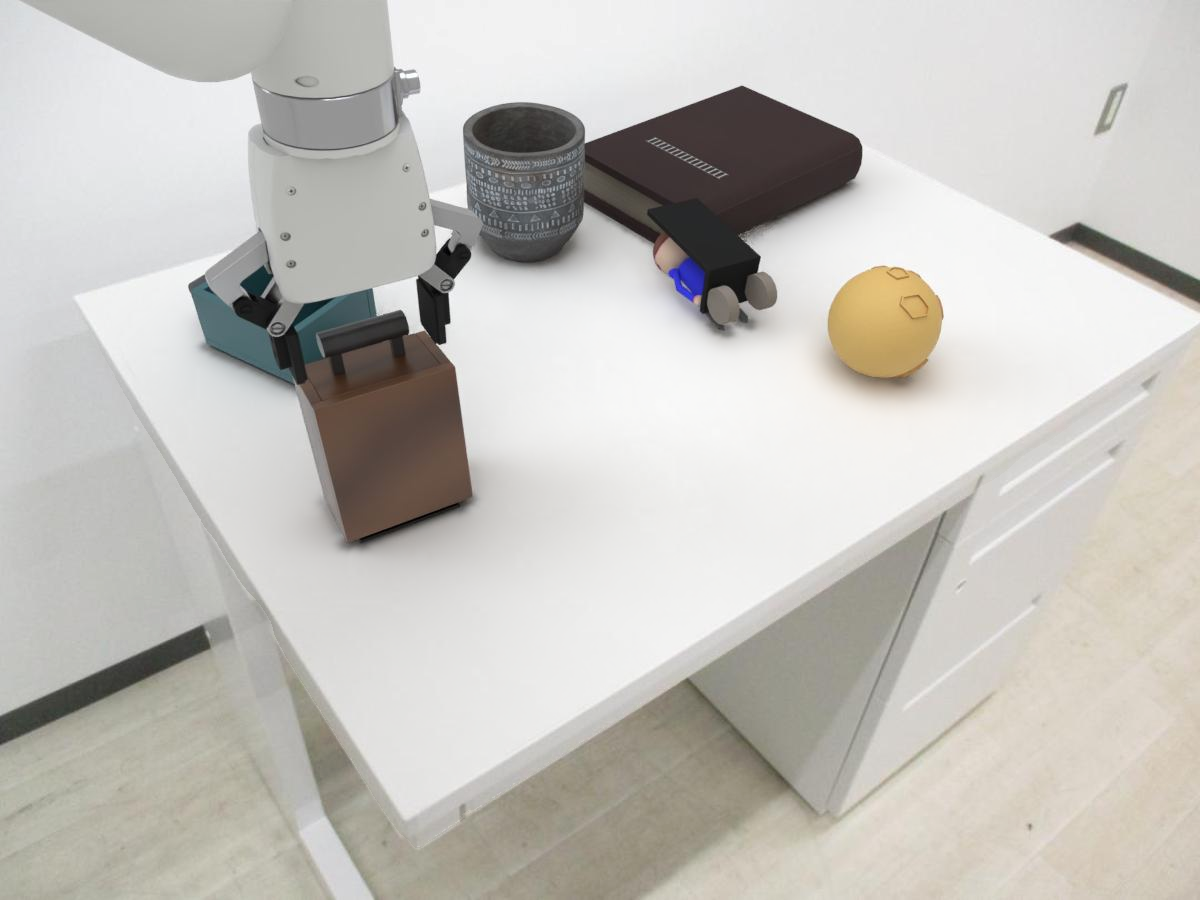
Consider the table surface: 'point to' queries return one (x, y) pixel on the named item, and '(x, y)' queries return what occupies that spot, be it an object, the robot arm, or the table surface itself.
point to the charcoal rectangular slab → (409, 522)
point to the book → (719, 162)
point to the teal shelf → (254, 341)
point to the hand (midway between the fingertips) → (366, 352)
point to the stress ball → (885, 322)
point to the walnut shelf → (384, 425)
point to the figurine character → (710, 262)
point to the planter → (525, 177)
